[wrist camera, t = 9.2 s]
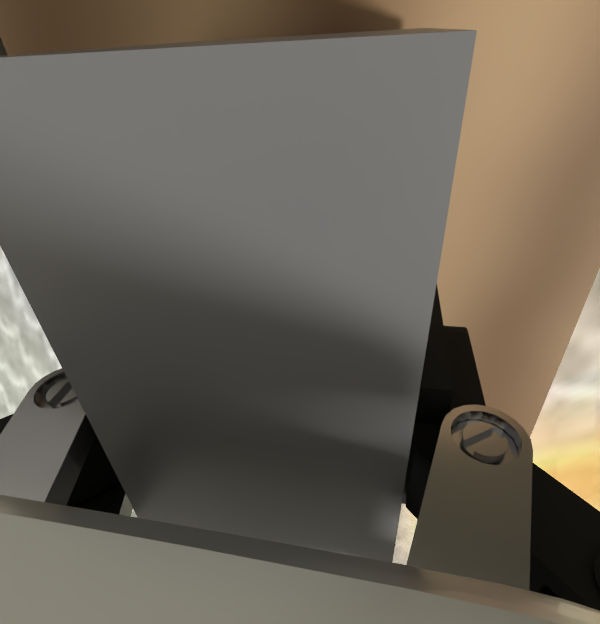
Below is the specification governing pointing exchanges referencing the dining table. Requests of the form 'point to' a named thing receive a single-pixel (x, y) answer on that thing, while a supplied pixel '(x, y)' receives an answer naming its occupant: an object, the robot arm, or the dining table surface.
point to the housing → (241, 264)
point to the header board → (470, 158)
